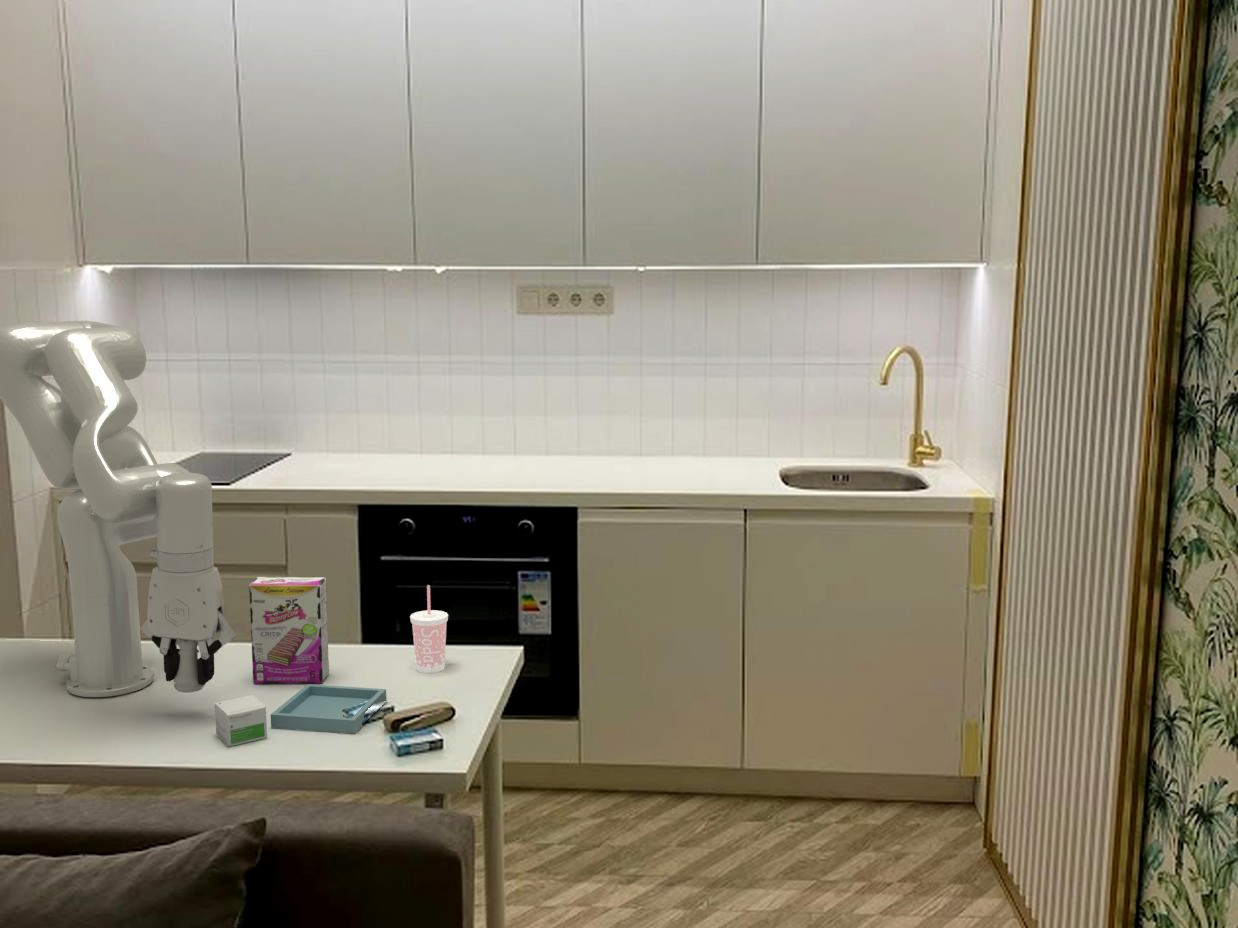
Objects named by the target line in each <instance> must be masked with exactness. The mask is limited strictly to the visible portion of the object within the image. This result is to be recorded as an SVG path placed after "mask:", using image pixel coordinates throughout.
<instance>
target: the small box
mask: <svg viewBox="0 0 1238 928" xmlns="http://www.w3.org/2000/svg"><path fill="white" fill-rule="evenodd" d="M213 706H214V717H215V718H214V719H215V733H216V736H217V737H218V738H219V739H220V740H221V741H222V742H223V743H224V744H225V745H226V746H227V747H228V748H230V747H234V746H238V745H242V744H246V743H250V742H254V741H258V740H264V739H267V738H268V725H267V724H268V723H267V721H268V720H267V719H268V718H267V708H266V707H267V706H266V705H265V704H264V703H262V701H260V699H257V697H255V695H254V694H250V695H246V696H241V697H237V698H232V699H228V700H224V701H219V702H214V705H213Z"/></svg>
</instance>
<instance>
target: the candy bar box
mask: <svg viewBox="0 0 1238 928" xmlns="http://www.w3.org/2000/svg"><path fill="white" fill-rule="evenodd" d="M248 588H249V589H248V590H249V591H248V592H249V609H250V610H249V613H250V614H249V615H250V629H251V630H250V631H251V632H250V633H251V634H250V635H251V660H252V661H251V662H252V681H253V684H256V685H257V684H263V685H264V684H265V685H266V684H268V685H269V684H272V685H273V684H286V685H287V684H323V683H325V680H326V678H327V677H328V676H329V673H330V665H329V664H330V663H329V662H330V661H329V637H328V636H329V635H328V631H329V630H328V629H329V628H328V605H327V604H328V603H327V601H328V599H327V594H328V593H327V579H326V577H324V576H323V577H320V576H317V577H315V576H308V577H307V576H305V577H303V576H302V577H301V576H300V577H299V576H296V577H295V576H286V577H285V576H257V577H256V578H255V579H254V580H253V581H251V582H250V584H249V585H248Z"/></svg>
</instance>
